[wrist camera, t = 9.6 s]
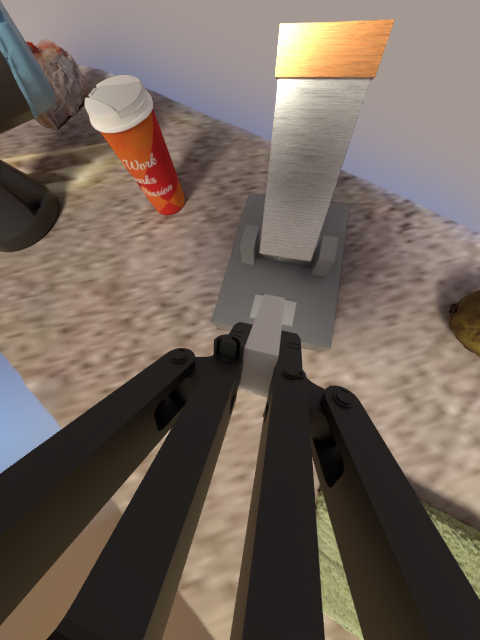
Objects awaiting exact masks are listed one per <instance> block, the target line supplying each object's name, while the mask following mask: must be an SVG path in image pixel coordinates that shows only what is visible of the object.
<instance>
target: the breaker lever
mask: <svg viewBox="0 0 480 640" xmlns="http://www.w3.org/2000/svg"><path fill="white" fill-rule="evenodd" d="M393 23H394V19H393V20H370V21H369V20H368V21H346V22H345V21H344V22H322V23H321V22H320V23H297V24H281V25H280V32H279V42H278V53H277V62H276V72H275V77H276V79H277V80H278V87H277V95H276V105H275V115H274V123H273V132H272V142H271V151H270V160H269V169H268V179H267V188H266V197H265V206H264V215H263V225H262V234H261V239H260V243H259V248H258V259H263V260H270V261H276V262H282V263H288V264H295V265H301V266H307V267H311V265H312V262H313V259H314V255H315V251H316V244H317V241H318V238H319V235H320V232H321V229H322V226H323V223H324V220H325V217H326V214H327V210H328V207H329V204H330V201H331V198H332V195H333V192H334V189H335V186H336V183H337V180H338V177H339V174H340V171H341V168H342V164H343V162H344V158H345V155H346V152H347V149H348V146H349V143H350V140H351V137H352V134H353V131H354V128H355V125H356V122H357V119H358V116H359V113H360V109H361V106H362V103H363V100H364V97H365V94H366V91H367V88H368V85H369V82H370V81H371V80H372V79H373V78H375V76H376V73H377V70H378V67H379V64H380V61H381V58H382V55H383V52H384V49H385V46H386V43H387V40H388V37H389V34H390V31H391V28H392V26H393Z"/></svg>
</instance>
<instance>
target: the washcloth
mask: <svg viewBox="0 0 480 640" xmlns="http://www.w3.org/2000/svg"><path fill="white" fill-rule="evenodd" d="M420 502H421V503H422V505H423V506H424V508H425V510H426V511H427V513H428V515H429V516H430V518H431V520H432V521H433V523H434V525H435V526H436V528H437V530H438V531H439V533H440V535H441V536H442V538H443V539H444V541H445V543H446V544H447V546H448V548H449V549H450V551H451V553H452V554H453V556H454V558H455V559H456V561H457V563H458V564H459V566H460V568H461V569H462V571H463V573H464V574H465V576H466V577H467V579H468V581H469V582H470V584H471V586H472V587H473V589H474V591H475V592H476V594H477V596H478V597H479V599H480V531H478V530H477V529H476V528H475V527H471V526H468V525H466V524H464V523H462V522H460V521H458V520H457V519H455V518H454V517H452V516H450V515H448V514H446V513H444V512H442V511H440V510H437V509H435V508H434V507H430V506H428V504H427V503H425V502H423V501H421V500H420ZM316 503H317V509H316V521H317V535H318V550H319V564H320V578H321V593H322V607H323V613H324V614H326V615H327V616H328V617H330V618H332V619H333V620H335V621H337V622H338V623H339V624H340V625H342V627H343V628H344V629H345V630H346V631H349V632H350V633H351V634H353V635H357V636H358V638H359V639H360V640H364V639H363V635H362V631H361V628H360V624H359V621H358V617H357V614H356V610H355V607H354V603H353V599H352V596H351V592H350V589H349V585H348V582H347V578H346V575H345V571H344V568H343V564H342V560H341V557H340V553H339V550H338V546H337V543H336V539H335V536H334V532H333V528H332V525H331V521H330V518H329V514H328V511H327V507H326V504H325V500H324V496H323V493H322V489H321V490H320V492H319V495H318V496H317V500H316Z"/></svg>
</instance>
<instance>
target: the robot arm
mask: <svg viewBox="0 0 480 640" xmlns="http://www.w3.org/2000/svg"><path fill="white" fill-rule="evenodd" d="M54 104H55V94H54V91H53V89H52V86H51V85H50V83H49V81H48V79H47V77H46V75H45V74H44V72H43V70H42V69H41V67H40V65H39V63H38V62H37V60H36V58H35V57H34V55H33V53H32V52H31V50H30V48H29V47H28V45H27V43H26V42H25V40H24V38H23V37H22V35H21V33H20V32H19V30H18V29H17V27H16V25H15V24H14V22H13V20H12V19H11V17H10V16H9V14H8V12H7V11H6V9H5V8H4V6H3V4H2V3H1V1H0V134H1V133H4V132H6V131H8V130H10V129H12V128H15V127H17V126H19V125H21V124H23V123H26V122H28V121H30V120H32V119H35V120H36V119H37V118H38V115H40V114H42V113H44V112H45V111H47V110H49V109H51V108H52V107H53V106H54ZM58 211H59V202H58V199H57V197H56V195H55V194H54V193H53V192H52V191H50V190H49V189H48V188H47V187H46V186H45V185H44V184H42V183H41V182H39V181H38V180H36V179H34V178H33V177H31V176H29V175H27V174H25V173H24V172H22V171H20V170H18V169H16V168H15V167H13V166H11V165H9V164H7V163H6V162H4V161H2V160H0V251H2V252H13V251H18V250H21V249H24V248H26V247H28V246H30V245H32V244H34V243H35V242H37V241H38V240H39V239H40V238H42V237H43V236H44V235H45V234H46V233H47V232H48V231H49V229H50V228H51V227H52V225H53V224H54V222H55V220H56V218H57V215H58ZM284 302H285V298H283V297H278V296H273V295H267V294H264V297H263V299H262V302H261V305H260V307H259V310H258V313H257V315H256V318H255V321H254V324H248V323H243V322H238V323H236V324H235V325H234V326H233V328H232V330H231V331H230V333H229V334H226V335H221V336H218V337H217V338H216V339H215V340H214V355H213V356H209V357H195V355H194V353H193V352H192V351H191V350H189V349H186V348H178V349H174V350H172V351H170V352H168V353H167V354H165V355H164V356H162V357H161V358H160V359H158V360H157V361H155V362H154V363H153V364H151V365H150V366H149V367H147V368H146V369H144V370H143V371H142V372H140V373H139V374H137V375H136V376H135V377H133V378H132V379H131V380H129V381H128V382H126V383H125V384H124V385H122V386H121V387H119V388H118V389H117V390H115V391H114V392H113V393H111V394H110V395H108V396H107V397H106V398H104V399H103V400H102V401H100V402H99V403H97V404H96V405H95V406H93V407H92V408H90V409H89V410H88V411H86V412H85V413H84V414H82V415H81V416H79V417H78V418H77V419H75V420H74V421H72V422H71V423H70V424H68V425H67V426H66V427H64V428H63V429H61V430H60V431H59V432H57V433H56V434H54V435H53V436H52V437H50V438H49V439H48V440H46V441H45V442H44V443H42V444H41V445H39V446H38V447H37V448H35V449H34V450H32V451H31V452H30V453H28V454H27V455H25V456H24V457H23V458H21V459H20V460H19V461H17V462H16V463H14V464H13V465H12V466H10V467H9V468H8V469H6V470H5V471H3V472H2V473H1V474H0V625H1V624H2V623H3V622H4V621H5V619H6V618H7V617H8V616H9V615H10V614H11V613H12V611H13V610H14V609H15V608H16V607H17V606H18V604H19V603H20V602H21V601H22V600H23V598H25V596H26V595H27V594H28V593H29V592H30V591H31V589H32V588H33V587H34V586H35V585H36V584H37V582H38V581H39V580H40V579H41V578H42V577H43V575H44V574H45V573H46V572H47V571H48V570H49V569H50V567H51V566H52V565H53V564H54V563H55V562H56V561H57V559H58V558H59V557H60V556H61V555H62V553H63V552H64V551H65V550H66V549H67V548H68V547H69V546H70V544H71V543H72V542H73V541H74V540H75V539H76V537H77V536H78V535H79V534H80V533H81V532H82V531H83V529H84V528H85V527H86V526H87V525H88V524H89V522H90V521H91V520H92V519H93V518H94V517H95V515H96V514H97V513H98V512H99V511H100V510H101V508H102V507H103V506H104V505H105V504H106V503H107V502H108V501H109V499H110V498H111V497H112V496H113V495H114V494H115V492H116V491H117V490H118V489H119V488H120V487H121V486H122V484H123V483H124V482H125V481H126V480H127V479H128V477H129V476H130V475H131V474H132V473H133V472H134V471H135V469H136V468H137V467H138V466H139V465H140V464H141V462H142V461H143V460H144V459H145V458H146V457H147V456H148V454H149V453H150V452H151V451H152V450H153V449H154V447H155V446H156V445H157V444H158V443H159V442H160V440H161V439H162V438H163V437H164V436H165V435H166V434H167V432H168V431H169V430H170V429H171V428H172V429H171V431H170V432H169V434H168V436H167V438H166V439H165V441H164V443H163V445H162V446H161V448H160V450H159V452H158V454H157V455H156V457H155V459H154V461H153V462H152V464H151V466H150V468H149V469H148V471H147V473H146V475H145V476H144V478H143V480H142V482H141V484H140V485H139V487H138V489H137V491H136V492H135V494H134V496H133V498H132V499H131V501H130V503H129V505H128V507H127V508H126V510H125V512H124V514H123V515H122V517H121V519H120V521H119V522H118V524H117V526H116V528H115V530H114V531H113V533H112V535H111V537H110V539H109V540H108V542H107V544H106V545H105V547H104V549H103V551H102V552H101V554H100V556H99V558H98V560H97V561H96V563H95V565H94V567H93V568H92V570H91V572H90V574H89V576H88V577H87V579H86V581H85V583H84V584H83V586H82V588H81V590H80V591H79V593H78V595H77V597H76V599H75V600H74V602H73V604H72V605H71V607H70V609H69V610H68V612H67V613H66V615H65V617H64V618H63V620H62V621H61V622H60V624H59V625H58V627H57V628H56V629H55V631H54V632H53V633H52V634H51V635H50V636H49V637H48V638H47V639H46V640H162V637H163V634H164V630H165V627H166V624H167V621H168V618H169V615H170V611H171V608H172V605H173V602H174V598H175V595H176V592H177V589H178V586H179V582H180V579H181V576H182V573H183V569H184V566H185V563H186V560H187V556H188V553H189V550H190V547H191V543H192V540H193V537H194V534H195V531H196V527H197V524H198V521H199V518H200V514H201V511H202V508H203V505H204V501H205V498H206V495H207V492H208V488H209V485H210V482H211V479H212V476H213V472H214V469H215V466H216V463H217V459H218V456H219V453H220V450H221V446H222V443H223V440H224V437H225V433H226V430H227V427H228V424H229V421H230V417H231V414H232V411H233V408H234V404H235V401H236V397H237V391H238V388H239V390H242V391H246V392H249V393H253V394H256V395H260V396H264V397H268V399H267V403H266V407H265V410H264V414H263V417H264V419H263V426H262V432H261V439H260V446H259V452H258V459H257V465H256V472H255V478H254V485H253V491H252V498H251V505H250V511H249V518H248V524H247V531H246V537H245V544H244V550H243V557H242V563H241V570H240V577H239V583H238V590H237V596H236V603H235V609H234V616H233V622H232V629H231V636H230V640H325V636H324V622H323V607H322V593H321V578H320V564H319V550H318V535H317V521H316V507H315V492H314V478H313V464H312V457H313V461H314V465H315V468H316V472H317V475H318V479H319V482H320V486H321V489H322V493H323V496H324V500H325V504H326V507H327V511H328V514H329V518H330V521H331V525H332V528H333V532H334V536H335V539H336V543H337V546H338V550H339V553H340V557H341V560H342V564H343V568H344V571H345V575H346V578H347V582H348V585H349V589H350V592H351V596H352V599H353V603H354V607H355V610H356V614H357V617H358V621H359V624H360V628H361V631H362V635H363V639H364V640H480V599H479V597H478V596H477V594H476V592H475V591H474V589H473V587H472V586H471V584H470V582H469V581H468V579H467V577H466V576H465V574H464V573H463V571H462V569H461V568H460V566H459V564H458V563H457V561H456V559H455V558H454V556H453V554H452V553H451V551H450V549H449V548H448V546H447V544H446V543H445V541H444V539H443V538H442V536H441V535H440V533H439V531H438V530H437V528H436V526H435V525H434V523H433V521H432V520H431V518H430V516H429V515H428V513H427V511H426V510H425V508H424V506H423V505H422V503H421V502H420V500H419V498H418V497H417V495H416V493H415V492H414V490H413V488H412V487H411V485H410V483H409V482H408V480H407V478H406V477H405V475H404V473H403V472H402V470H401V469H400V467H399V465H398V464H397V462H396V460H395V459H394V457H393V455H392V454H391V452H390V450H389V449H388V447H387V445H386V444H385V442H384V440H383V439H382V437H381V435H380V434H379V432H378V431H377V429H376V427H375V426H374V424H373V422H372V421H371V419H370V417H369V416H368V414H367V412H366V411H365V409H364V407H363V406H362V404H361V402H360V401H359V400H358V398H357V397H356V396H355V395H354V394H353V393H352V392H350V391H349V390H347V389H345V388H343V387H340V386H329V387H328V388H326V390H325V389H323V388H321V387H319V386H317V385H316V384H314V383H312V382H311V381H310V380H308V379H307V377H306V374H305V372H304V371H303V370H302V354H301V339H300V337H299V336H298V334H297V333H292V332H288V331H283V330H282V321H283V312H284Z"/></svg>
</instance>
